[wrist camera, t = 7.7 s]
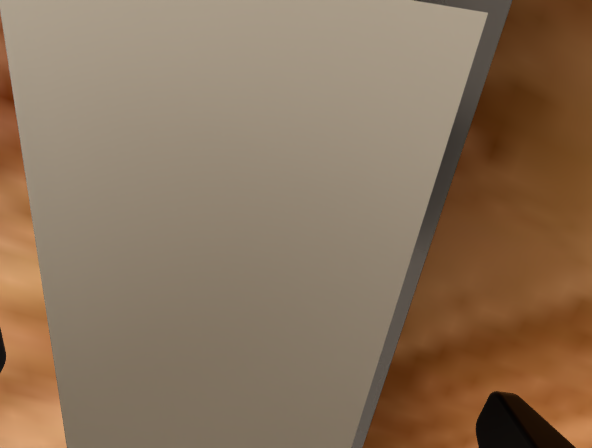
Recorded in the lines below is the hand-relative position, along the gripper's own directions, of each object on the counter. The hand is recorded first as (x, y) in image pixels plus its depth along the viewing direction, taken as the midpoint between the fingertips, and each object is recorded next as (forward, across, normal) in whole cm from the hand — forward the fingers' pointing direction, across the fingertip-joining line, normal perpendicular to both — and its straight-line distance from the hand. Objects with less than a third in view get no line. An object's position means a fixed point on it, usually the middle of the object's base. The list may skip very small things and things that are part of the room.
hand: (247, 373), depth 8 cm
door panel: (+4, 0, 0) cm, 4 cm away
